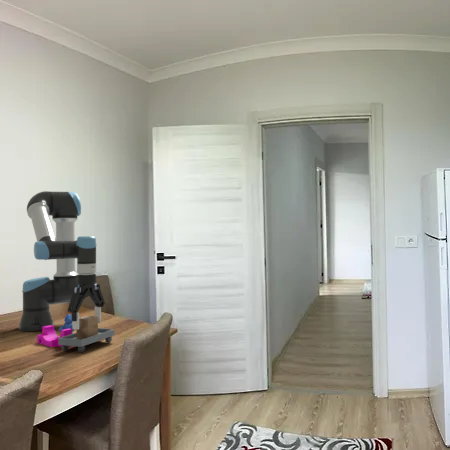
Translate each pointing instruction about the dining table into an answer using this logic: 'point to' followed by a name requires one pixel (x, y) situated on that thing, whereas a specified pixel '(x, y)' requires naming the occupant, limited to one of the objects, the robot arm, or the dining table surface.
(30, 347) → the dining table surface
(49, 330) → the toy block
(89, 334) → the walnut block
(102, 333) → the cart
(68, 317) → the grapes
